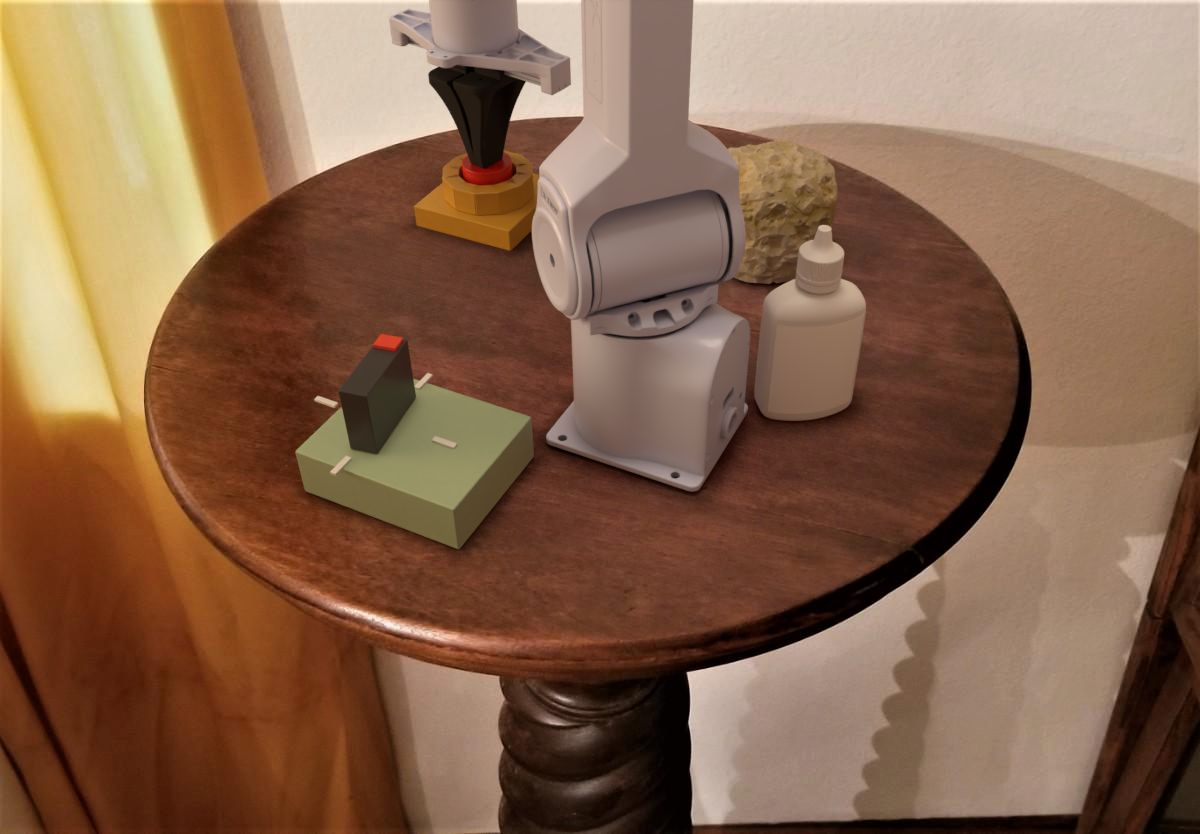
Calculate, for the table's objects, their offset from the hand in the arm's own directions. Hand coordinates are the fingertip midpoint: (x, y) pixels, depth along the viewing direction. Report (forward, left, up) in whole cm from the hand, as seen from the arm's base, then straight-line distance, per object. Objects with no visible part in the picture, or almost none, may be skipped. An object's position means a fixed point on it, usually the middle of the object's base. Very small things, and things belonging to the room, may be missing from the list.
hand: (486, 161), depth 83 cm
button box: (0, 0, -4) cm, 4 cm away
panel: (-11, +26, -4) cm, 29 cm away
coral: (-20, -4, -4) cm, 21 cm away
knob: (-9, +26, -1) cm, 28 cm away
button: (0, 0, -2) cm, 2 cm away
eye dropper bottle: (-28, +11, -4) cm, 30 cm away
